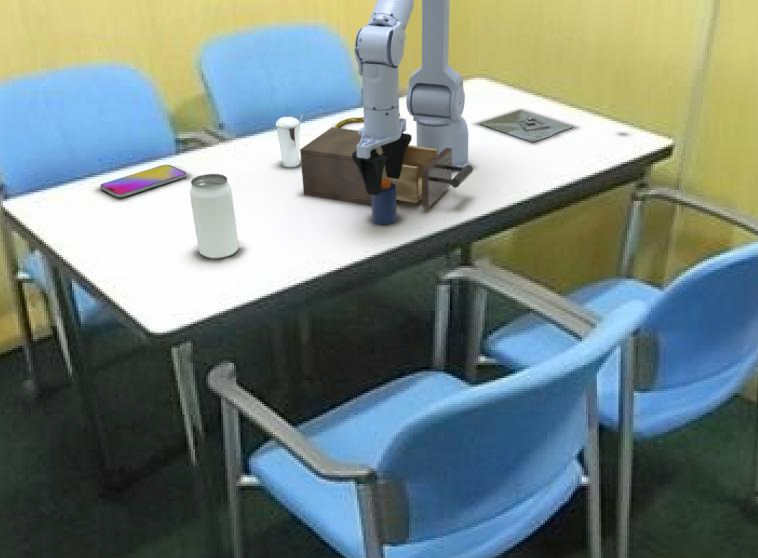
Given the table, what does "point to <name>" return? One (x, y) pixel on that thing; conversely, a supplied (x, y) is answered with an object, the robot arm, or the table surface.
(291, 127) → the milkshake
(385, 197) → the glue bottle
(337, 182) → the cabinet
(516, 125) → the mousepad
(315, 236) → the table surface
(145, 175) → the smartphone
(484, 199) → the table surface
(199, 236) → the can
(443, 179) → the drawer
